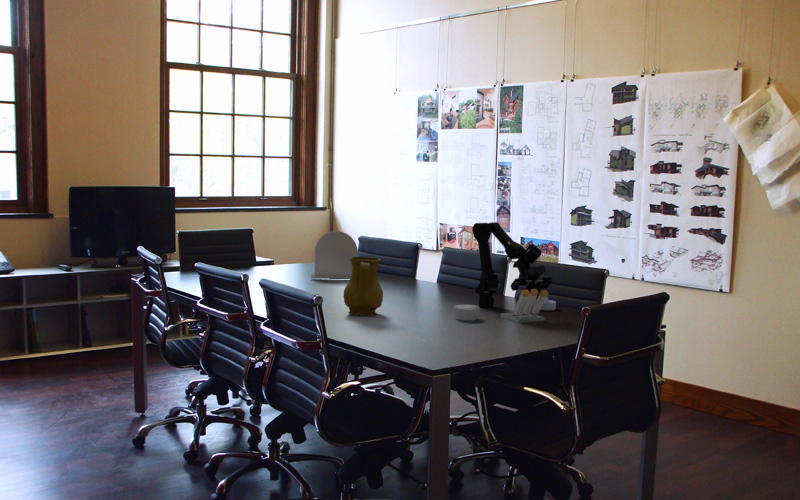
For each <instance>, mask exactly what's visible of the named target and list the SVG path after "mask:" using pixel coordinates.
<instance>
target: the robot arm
mask: <svg viewBox="0 0 800 500" xmlns="http://www.w3.org/2000/svg"><path fill="white" fill-rule="evenodd" d="M471 229H472V234H473V237H474V239H475V241H476V242H477V245H478V251H479V252H478V253H479V259H480V267H481V274H480V277H479V284H478V285H477V286H476V287H475V294H478V305H477V306H478V307H480V308H489V309H490V308H491V309H493V306H495V305H494V303H495V297H494V294H497V291H498V288H499V283H500V281H499V275H498V274H497V273H495V272H494V271H493V265H492V257H491V249H490V248H491V247H490V243H489V241H490V238H491V236H492V235H493V236H494V237H495V238H496V239H497V240H498V242H499V243H500V244H501V245H502V247H503V248H504V253H505V254H506V256H507V258H508V259H510V260H514V262H513V264H512V268H517V270H518V272H519V276H518V278H517V277H515V279H514V280H513V281H512V283H511V284H510V289H511V291H515V292H516V291H518V290H519V288H520V287H524V289H523V290H528V291H529V292H530V291H531V289H537V291H538V292H539V293H538V295H537V297H536V299H537V298H538V296H539V294H540V292H541V290H547V289H549V287H550V286H551V285H552V283H554V280H553V278H552V277H551V276H542V278H541V279H540V276H541V275H544V274H545V273H546V272H547V269H546V267H545V265H540V266H533V267H532V265H533V264H534V263H535V262H536V261H537V260H538V259H539V258H541V256H542V255H543V254H542V253H543V252H542V250H541V248H539V247H537V246H536V245H534V243H531V244H529V245H528V246H527V248H525V247H524V246H523V245H521V244H520V243H518V242H517V241H515V240H513V239H512V238H511V237H510V235H509V234H508V233H507V232H506V230H504V228H502V226H501V225H500V223H499V222H496V221H495V222H493V221H491V222H475V223H474V224H473V226H472V227H471ZM515 260H516V261H515ZM529 294H530V293H529Z"/></svg>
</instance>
